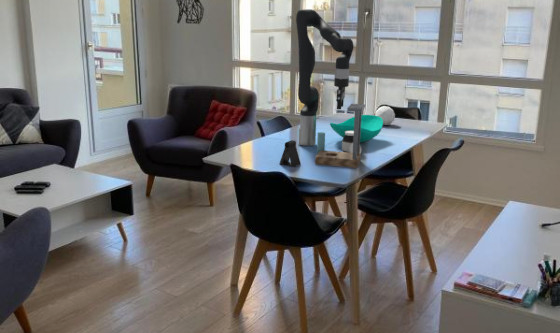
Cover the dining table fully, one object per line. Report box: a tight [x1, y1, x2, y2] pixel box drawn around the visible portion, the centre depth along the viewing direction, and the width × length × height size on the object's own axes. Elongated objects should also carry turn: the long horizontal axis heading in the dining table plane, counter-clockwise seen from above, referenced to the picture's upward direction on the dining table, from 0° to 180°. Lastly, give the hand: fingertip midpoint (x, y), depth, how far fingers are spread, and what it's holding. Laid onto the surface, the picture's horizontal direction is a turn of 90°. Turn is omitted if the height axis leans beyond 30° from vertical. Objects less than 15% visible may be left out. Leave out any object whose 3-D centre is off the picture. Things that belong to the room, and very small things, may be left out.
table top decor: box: [329, 114, 384, 143], centre depth 329 cm, size 40×28×13 cm
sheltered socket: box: [314, 103, 366, 169], centre depth 280 cm, size 22×14×30 cm, turn 75°
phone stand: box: [279, 139, 302, 168], centre depth 278 cm, size 9×6×12 cm, turn 57°
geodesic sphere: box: [374, 105, 396, 126], centre depth 380 cm, size 14×14×14 cm
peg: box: [316, 131, 326, 155], centre depth 297 cm, size 4×4×12 cm
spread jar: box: [341, 131, 362, 153], centre depth 301 cm, size 12×11×12 cm
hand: (340, 107), depth 296 cm, fingers open, 8 cm apart
